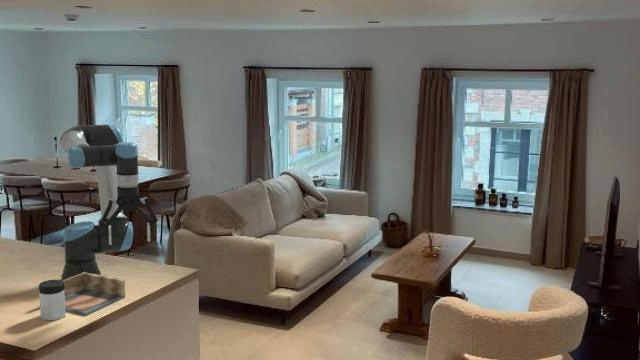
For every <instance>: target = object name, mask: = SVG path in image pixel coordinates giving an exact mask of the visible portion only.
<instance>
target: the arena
mask: <svg viewBox="0 0 640 360" xmlns="http://www.w3.org/2000/svg"><path fill="white" fill-rule="evenodd" d="M62 281H64V288H65V307H66V312H68V313H72V314H76V315H81V316H86V317H88V316H89V315H91V314H94V313H95V312H98V311H100V310H102V309H104V308H105V307H106V308H107V306H110V305H112V304H114V303H116V302H119V301H121V300H123V299H126V285H125V282H126V281H125V279H122V278H117V277H112V276H106V275H102V274H101V275H97V274H91V273H86V272H83V273H80V274H78V275H75V276H72V277H70V278H67V279H65V280H62Z"/></svg>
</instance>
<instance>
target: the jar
mask: <svg viewBox="0 0 640 360" xmlns="http://www.w3.org/2000/svg"><path fill="white" fill-rule="evenodd" d="M38 291H39V310H40V311H39V312H40V320H43V321H45V320H46V321H56V320H59V319H63V318H65V317H66V314H67V313H66V312H67V311H66V307H65V288H64V281H62V280H61V279H48V280H45V281H42V282H40V283H39V284H38Z"/></svg>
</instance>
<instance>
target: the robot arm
mask: <svg viewBox="0 0 640 360" xmlns="http://www.w3.org/2000/svg"><path fill="white" fill-rule="evenodd" d="M59 142H60V144H59V145H60V146H61V149H62V150H63V151H64V152H65V153H67V160H68V166H69V167H70V168H72V169H73V168H74V169H75V168H79V169H82V168H93V167H95V168H96V176H97V186H98V196H99V205H100V214H101V217H100V218H99V219H98V220H97V222H98V224H95V223H94V222H93V221H79V222H76V223H72V224H70V225H67V226H66V227H65V228H64V230H63V243H64V246H63V248H64V265H63V269H62V270H63V271H62V274H61V277H60V278H61V279H60V280H65V279H67V278H70V277H72V276H75V275H78V274H80V273H83V272H86V273H91V274H97V275H102V273H101V270H99V269H100V268H99V265H98V262H97V261H96V257H97V256H96V255H97V254H103V253H113V252H121V251H123V252H124V251H127V250H129V249H130V248H131V247H132V243H133V238H134V237H133V236H134V228H133V223H132V222H131V221H129V220H128V217H127V216H126V215H125V214H124V212H134V211H137V212H138V213H139V215H141V217H143V218H144V219H145V221H147V223H146V235H147V242H148V243H151V233H153V232H154V223H158V221H159V219H158V218H157V216H156V214H155V212H154V211H153V209H152V207H151V205H150V204H149V198H148V197H147V196H145V197H141V198H140V190H139V189H140V187H139V181H140V179H139V157H138V156H139V151H138V144H137V143H135V142H131V141H129V142H128V141H125V142H124V140H123V136H122V133H121V130H120V127H119V126H117V125H116V124H107V123H106V124H91V125H90V124H89V125H83V124H81V125H76V126H72V127H70V128H68V129H66V130H65V131H64V132H63V133H62V134H61V137H60V141H59ZM141 203H142V204H143V205H145V206H146V209H147V211H148V212H149V214H150V215H151V217H152V218H150V216H149V215H147V213H146V212H145V211H144V210H143V209H142V208H141V207H140V206H139V205H140V204H141Z"/></svg>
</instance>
